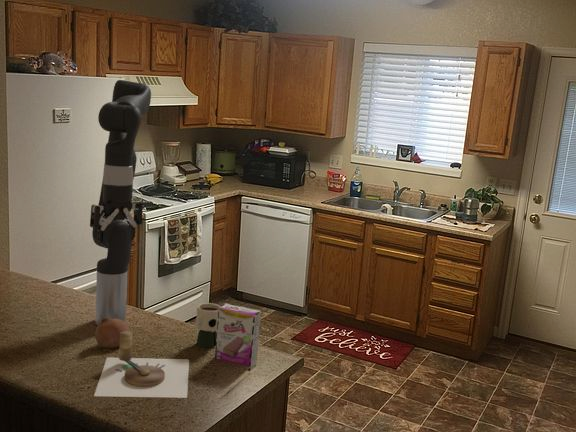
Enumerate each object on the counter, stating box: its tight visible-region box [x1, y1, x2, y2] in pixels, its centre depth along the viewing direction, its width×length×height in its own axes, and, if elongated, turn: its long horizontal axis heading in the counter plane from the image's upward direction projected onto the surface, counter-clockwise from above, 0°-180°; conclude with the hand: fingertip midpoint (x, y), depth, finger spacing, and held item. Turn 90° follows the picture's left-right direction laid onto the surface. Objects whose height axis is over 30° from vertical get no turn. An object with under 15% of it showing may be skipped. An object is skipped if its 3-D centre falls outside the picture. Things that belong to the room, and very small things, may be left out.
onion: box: [94, 318, 130, 349], centre depth 183 cm, size 10×9×10 cm
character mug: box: [195, 302, 222, 349], centre depth 188 cm, size 11×7×13 cm, turn 147°
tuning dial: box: [118, 330, 165, 387], centre depth 165 cm, size 17×10×8 cm, turn 43°
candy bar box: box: [214, 303, 262, 371], centre depth 179 cm, size 11×5×16 cm, turn 71°
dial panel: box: [93, 357, 190, 399], centre depth 165 cm, size 22×22×2 cm
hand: (116, 242), depth 171 cm, fingers open, 8 cm apart
